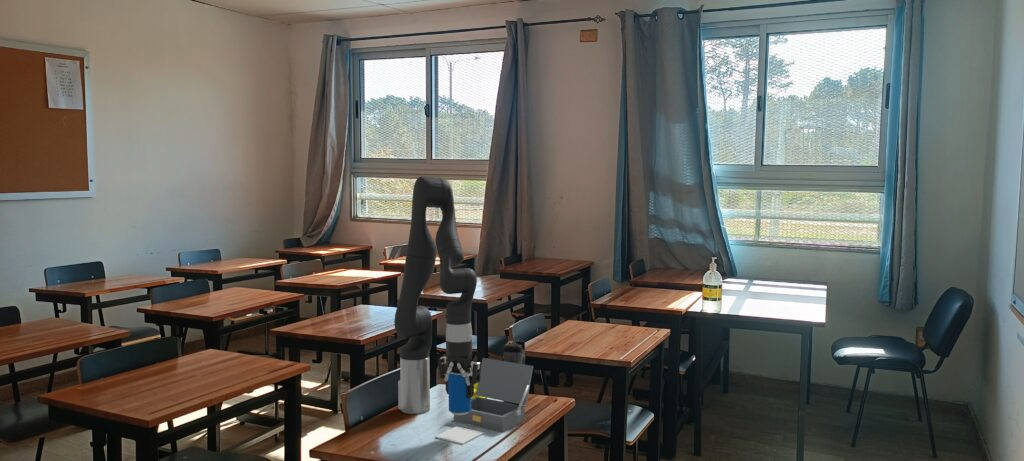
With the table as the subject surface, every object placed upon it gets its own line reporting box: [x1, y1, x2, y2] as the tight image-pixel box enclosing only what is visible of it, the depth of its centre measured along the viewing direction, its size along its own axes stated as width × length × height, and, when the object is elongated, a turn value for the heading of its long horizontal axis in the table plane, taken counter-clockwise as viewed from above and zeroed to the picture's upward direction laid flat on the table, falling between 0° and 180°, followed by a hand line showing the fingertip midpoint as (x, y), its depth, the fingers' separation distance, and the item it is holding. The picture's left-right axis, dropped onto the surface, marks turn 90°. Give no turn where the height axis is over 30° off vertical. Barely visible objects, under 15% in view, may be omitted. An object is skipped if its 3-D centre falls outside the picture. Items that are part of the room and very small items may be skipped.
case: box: [453, 357, 534, 433], centre depth 220 cm, size 19×17×16 cm
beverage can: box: [448, 372, 471, 416], centre depth 206 cm, size 6×6×12 cm
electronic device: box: [503, 339, 526, 405], centre depth 236 cm, size 9×6×20 cm, turn 168°
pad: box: [434, 425, 485, 446], centre depth 207 cm, size 10×10×1 cm
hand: (459, 395), depth 206 cm, fingers closed on beverage can, 6 cm apart
